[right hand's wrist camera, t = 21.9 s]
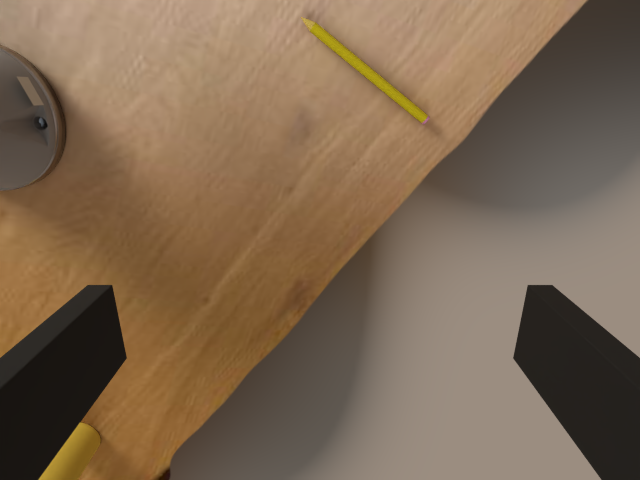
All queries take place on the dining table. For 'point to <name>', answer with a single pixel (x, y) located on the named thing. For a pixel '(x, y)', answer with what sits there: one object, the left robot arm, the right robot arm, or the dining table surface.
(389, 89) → the pencil
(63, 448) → the cylinder
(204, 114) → the dining table surface
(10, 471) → the right robot arm
